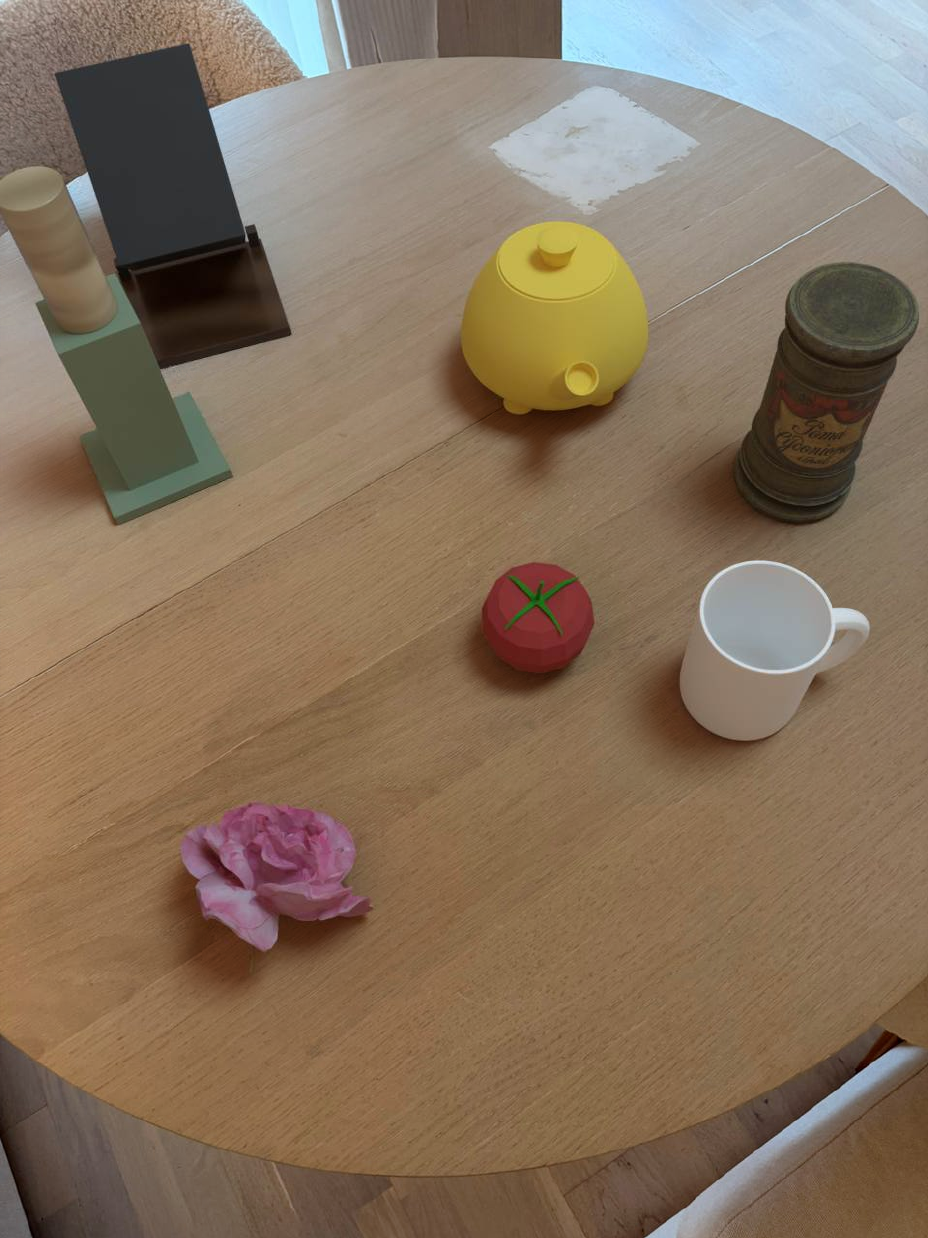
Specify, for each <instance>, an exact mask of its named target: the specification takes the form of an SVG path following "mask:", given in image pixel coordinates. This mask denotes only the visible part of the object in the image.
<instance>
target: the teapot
mask: <svg viewBox="0 0 928 1238" xmlns="http://www.w3.org/2000/svg"><path fill="white" fill-rule="evenodd" d="M461 319H462V320H461V327H460V338H461V339H460V341H461V342H460V343H461V349H462V354H463V357H464V360H465V361H466V364H467V365H468V368H469V369H470V370H471V372H472V374H473V375H474V376H475V377H476V378H477V380H478V381H479V382H480V384H481V383H482V385H483V386H485V387H486V388H487V389H488V390H490V391H491V392H493V393H494V394H496V395H497V396H499V397H501V398H502V399H503V402H502V403H503V407H504V409H505V410H506V411H507V412H508V413H511V414H514V415H524V414H528V413H530V412H532V410H540V411H565V410H571V409H576V408H581V407H584V406H588V405H591V406H596V407H601V406H605V405H607V404H609V403H610V402H611V401H612V400H613V398H614V393H615V392H616V391H619V389H621V388H622V387H623V386H625V385H626V384H627V383H628V382H629V381H630V380H631V379H632V377H633V376H634V375H635V374H636V372H637V371H638V370H639V368H640V366H641V364H642V363H643V362H644V361H643V360H644V359H645V356H646V353H647V348H648V343H649V322H648V321H649V320H648V313H647V308H646V302H645V298H644V295H643V293H642V290H641V288H640V285H639V282H638V280H637V279H636V277H635V275H634V273H633V272H632V270H631V268H630V266H629V264H627V262H626V260H625V259H624V258H623V256H622V255H621V253H620V252H619V251H618V249H617V248H616V247H615V246H614V245H613V244H612V242H610V241H609V240H608V239H607V238H606V236H604V235H603V234H601V233H600V232H599V231H597V230H595V229H593V228H592V227H589V226H587V225H583V224H580V223H577V222H571V221H558V220H557V221H545V222H539V223H535V224H532V225H529V226H526V227H524V228H522V229H519V230H518V231H516V232H514V233H513V234H512V235H510V236H509V237H508V238H507V239H506V240H505V241H503V243H502V244H501V245H500V246H499V247H497V249H496V250H495V251H494V253H493V254H492V255H491V256H490V258H489V259H488V260H487V262H486V263H485V264H484V266H483V267H482V268H481V270H480V271H479V273H478V274H477V276H476V278H475V280H474V281H473V283H472V285H471V288H470V290H469V293H468V295H467V299H466V301H465V305H464V309H463V314H462V318H461Z"/></svg>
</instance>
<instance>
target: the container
mask: <svg viewBox="0 0 928 1238" xmlns="http://www.w3.org/2000/svg"><path fill="white" fill-rule="evenodd" d="M919 308H920V307H919V303H918V299H917V298H916V296H915V294H914V292H913V291H912V289H911V287H909V286H908V285H907V284H906V283H905V282H904V281H903V280H901V279H900V278H899V277H898V276H896V275H894V274H893V273H891V272H888V271H887V270H885V269H883V268H880V267H877V266H874V265H871V264H867V263H861V262H854V261H853V262H852V261H839V262H830V263H826V264H822V265H819V266H817V267H813V269H810V270H808V271H807V272H805V273H804V274H803V275H801V276H800V277H799V278H798V279H796V281H795V283H794V284H793V285H792V286H791V288H790V289H789V290H788V293H787V296H786V298H785V304H784V312H785V315H784V328H783V329H782V331H781V332H780V334H779V336H778V340H777V344H776V345H777V346H776V352H775V355H774V358H773V362H772V364H771V368H770V372H769V375H768V379H767V382H766V386H765V389H764V392H763V396H762V399H761V402H760V404H759V407H758V409H757V410H756V412H755V414H754V416H753V418H752V421H751V429H750V430H749V431H748V432H747V433H746V434H745V436H744V438H743V439H742V442H741V445H740V447H739V449H738V451H737V453H736V456H735V460H734V463H733V464H734V465H733V473H734V479H735V480H734V481H735V483H736V486H737V488H738V490H739V492H740V494H741V495H742V497H743V498H744V499H745V501H747V503H748V504H749V505H750V506H752V507H753V508H754V509H756V510H757V511H758V512H760V513H762V514H763V515H765V516H767V517H770V518H771V519H774V520H778V521H781V522H786V523H787V522H788V523H794V524H803V523H804V524H806V523H812V522H817V521H819V520H823V519H824V518H827V517H829V516H830V515H832V514H833V513H835V512H836V511H837V510H838V509H839V508H841V506H843V504H844V503H845V502H846V500H847V498H848V497H849V494H850V492H851V489H852V484H853V482H854V479H855V476H856V469H857V466H856V462H857V460H858V459H859V458H860V456H861V453H862V451H863V446H864V445H863V444H864V438H865V436H866V435H867V432H868V429H869V427H870V424H871V422H872V420H873V417H874V415H875V413H876V410H877V409H878V406H879V405H880V402H881V399H882V396H883V395H884V392H885V390H886V387H887V385H888V383H889V380H891V378H892V376H894V373H895V371H896V368H897V364H898V356H899V355H900V353H902V351H903V350H904V348H905V346H907V345H908V344H909V343H910V341H911V340H912V339H913V337H914V335H915V334H916V332H917V330H918V327H919V326H918V325H919V322H920V309H919Z"/></svg>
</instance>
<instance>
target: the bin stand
mask: <svg viewBox="0 0 928 1238" xmlns="http://www.w3.org/2000/svg"><path fill="white" fill-rule="evenodd" d="M244 230H245V234H246V238H247V240H248V241H246V243H244V244H240V245H236V246H232V247H228V248H224V249H220V250H216V251H212V252H208V253H204V254H200V255H196V256H192V257H188V258H184V259H180V260H176V261H171V262H167V263H163V264H159V265H155V266H151V267H147V268H143V269H139V270H135V271H132V270H129V269H126V268H124V267H121V266H119V264H118V261H117V258H116V257H114V258H113V263H114V264H113V265H114V268H115V270H116V273H117V278H118V280H119V282H120V284H121V286H122V288H123V290H124V292H125V294H126V296H127V298H128V300H129V302H130V303H131V305H132V307H133V309H134V311H135V313H136V315H137V317H138V319H139V321H140V323H141V325H142V328H143V330H144V332H145V335H146V337H147V339H148V342H149V344H150V347H151V349H152V351H153V354H154V356H155V358H156V361H157V363H158V366H159V368H160V370H161V369H164V368H168V367H173V366H176V365H180V364H184V363H187V362H191V361H194V360H200V359H203V358H207V357H210V356H215V355H218V354H223V353H226V352H229V351H234V350H238V349H242V348H244V347H250V346H253V345H257V344H260V343H264V342H268V341H272V340H277V339H280V338H284V337H287V336H291V335H293V334H292V331H291V330H292V329H291V326H290V323H289V320H288V317H287V314H286V311H285V307H284V305H283V302H282V298H281V295H280V293H279V290H278V287H277V283H276V280H275V277H274V274H273V271H272V268H271V265H270V263H269V259H268V257H267V253H266V249H265V247H264V244H263V241H262V238H260V237H259V233H258V230H257V227H256V225H255V224H254V223H253V224H249V225H245V226H244Z"/></svg>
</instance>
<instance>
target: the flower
mask: <svg viewBox="0 0 928 1238" xmlns="http://www.w3.org/2000/svg"><path fill="white" fill-rule="evenodd" d="M355 845H356V844H355V842H354V838H353V837H352V835H351V832H350V831H349V829H348V828H347V827H346V825H343V824H342V823H339V821H338V819H333V818H332V817H331V816H330V815H329V814H327V813H325V812H320V811H313V810H312V809H309V808H304V807H300V808H299V807H293V806H291V805H288V804H283V805H279V806H276V805H273V804H269V805H267V804H264V803H263V802H261V801H257V802H248V803H247V804H245V805H243V806H240V807H236V808H233V809H230V810H228V811H226V812H225V813H223V816H222V818H221V819H220V824H219V825H218V824H216V823H211V824H209V825H206V824H205V825H204V824H200V825H198V826H196V827H194V828H191V829H189V830H188V832H187V833H185V835H184V837H183V838H182V840H181V842H180V854H181V859H182V864H183V866H184V867H185V869H186V870H187V871H188V872H189V874H190V875H192V876H193V877H194V878H196V879H198V880H199V881H198V882H197V883H196V885H195V891H196V896H197V901H198V904H199V907H200V910H201V913H202V918H204V920H205V921H209V920H213V919H214V920H216V921H218V922H220V923H222V924H223V925H225V926H226V927H229V929H231V930H232V932H234V934H235V935H236V936H237V937H238V938H240V940H243V941H244V942H246V943H248V944H249V945H250V946H251V947H252V948H251V960H250V969H249V974H251V972H252V969H253V964H254V951H255V950H254V948H255V949H257V950H259V951H261V952H262V953H266V952H267V951H268V950H271V949H272V948H273V946H274V945H275V944H276V942H277V941H278V937H279V920H280V918H281V916H282V915H283V916H289V917H291V918H293V919H295V920H296V921H297V920H298V921H301V922H307V921H308V922H311V921H313V922H314V921H316V920H317V919H318V920H319V921H324V920H329V919H330V920H331V919H333V918H335V917H345V918H352V917H356V916H361V915H363V916H364V915H366V914H367V913H370V912H371V911H373V910H374V907H373V906H372V904H371V903H372V901H371V897H370V896H369V897H368V896H359V895H358V896H357V895H353V894H352V890H353V889H354V888H353V887H354V886H353V885H351V886H349V887H344V886H343V885H342V883H341V882H343V881H344V879H345V878H346V876H347V875H348V874H349V873H350V871H351V869H352V868H353V866H354V862H355V860H356V854H357V851H356V846H355Z"/></svg>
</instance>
